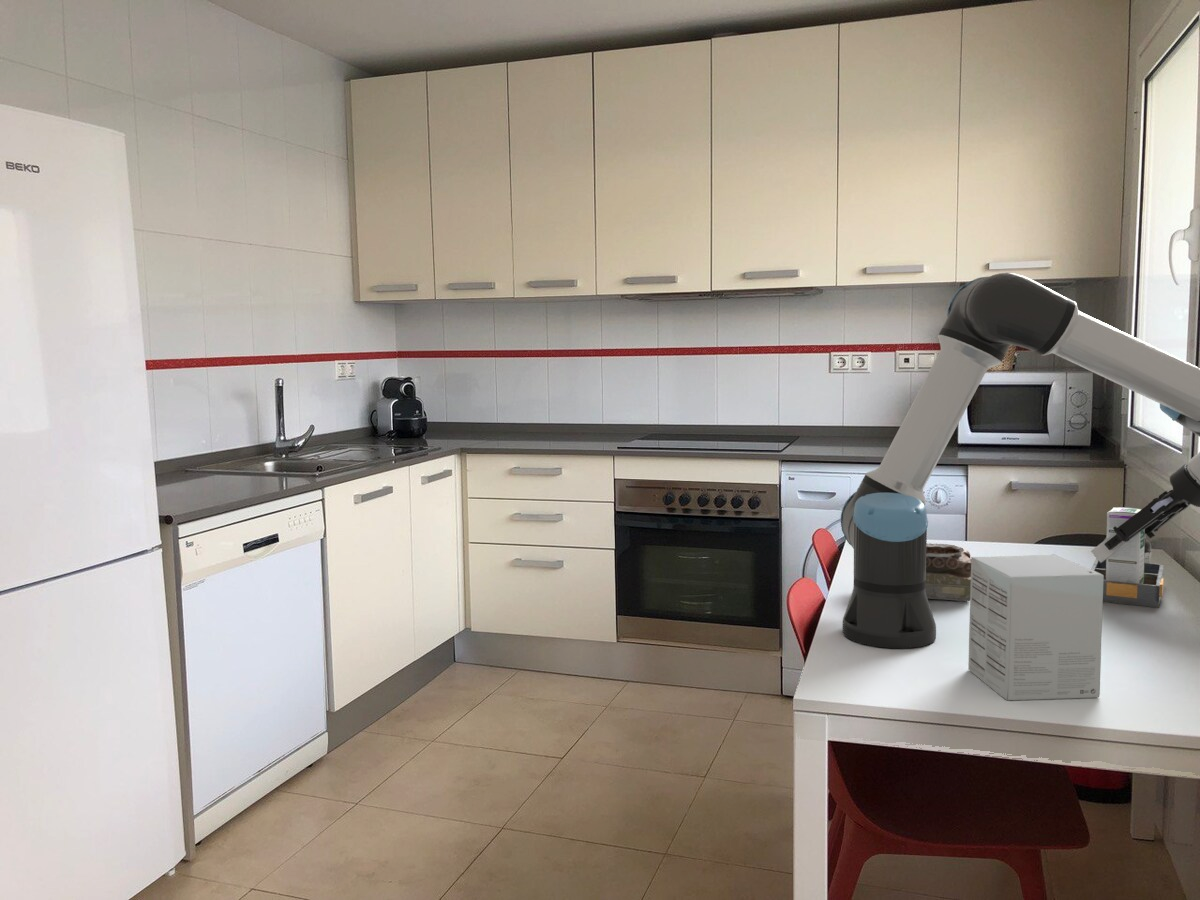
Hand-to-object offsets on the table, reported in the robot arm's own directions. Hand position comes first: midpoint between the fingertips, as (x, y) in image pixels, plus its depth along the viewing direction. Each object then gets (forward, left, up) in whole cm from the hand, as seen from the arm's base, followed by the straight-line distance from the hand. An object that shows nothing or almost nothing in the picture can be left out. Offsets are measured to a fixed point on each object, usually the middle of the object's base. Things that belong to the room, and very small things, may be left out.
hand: (1105, 553), depth 183 cm
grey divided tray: (+4, -3, -8) cm, 9 cm away
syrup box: (-1, -3, -6) cm, 7 cm away
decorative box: (-20, +30, -8) cm, 37 cm away
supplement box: (-59, +5, -8) cm, 60 cm away
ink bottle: (+22, -2, -8) cm, 23 cm away
